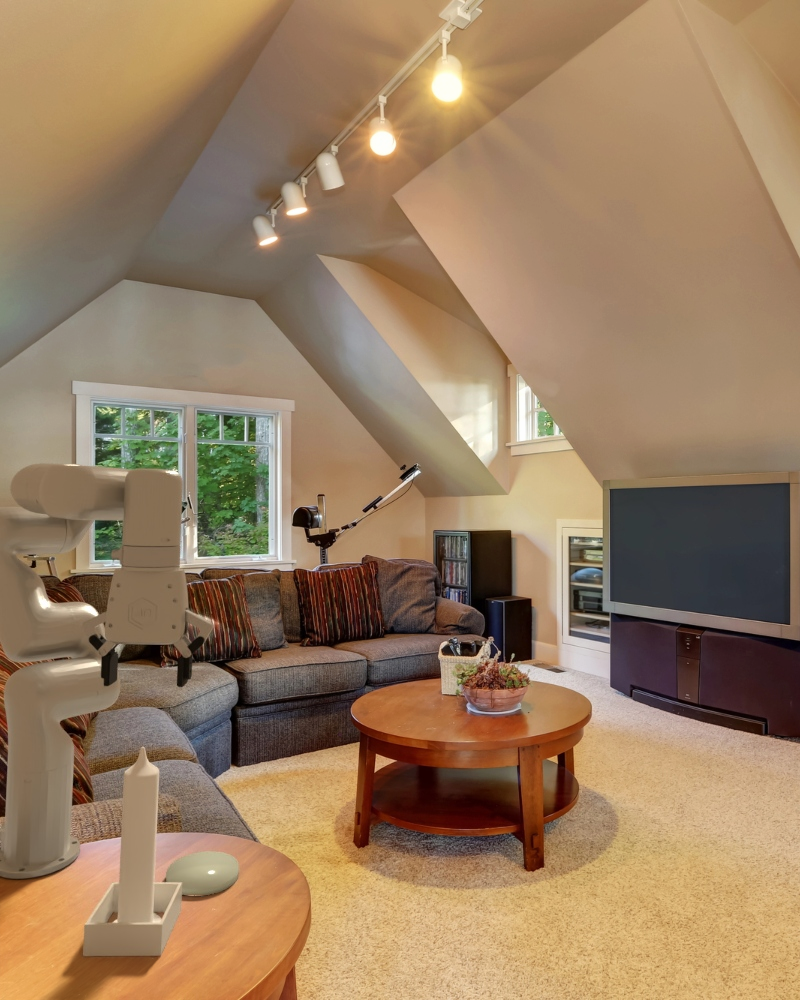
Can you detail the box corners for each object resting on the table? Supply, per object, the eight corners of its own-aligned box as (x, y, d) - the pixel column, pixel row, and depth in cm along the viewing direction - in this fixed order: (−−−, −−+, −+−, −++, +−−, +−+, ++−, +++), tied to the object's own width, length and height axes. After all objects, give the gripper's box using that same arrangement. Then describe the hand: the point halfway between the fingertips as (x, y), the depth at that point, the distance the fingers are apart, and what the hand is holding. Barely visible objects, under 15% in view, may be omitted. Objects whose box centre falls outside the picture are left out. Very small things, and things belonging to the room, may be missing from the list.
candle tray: (82, 956, 85) (84, 924, 86) (111, 910, 95) (112, 882, 95) (160, 955, 86) (162, 924, 86) (181, 910, 96) (182, 882, 96)
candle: (143, 953, 86) (151, 758, 87) (94, 944, 88) (103, 753, 88) (172, 920, 93) (180, 741, 94) (127, 913, 95) (134, 736, 95)
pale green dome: (149, 885, 102) (150, 877, 102) (198, 852, 112) (198, 845, 112) (207, 904, 98) (208, 896, 98) (252, 868, 108) (253, 861, 108)
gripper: (75, 559, 87) (69, 690, 87) (209, 562, 88) (204, 692, 88) (97, 555, 95) (92, 676, 94) (220, 558, 96) (216, 678, 95)
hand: (146, 684), depth 91 cm, fingers open, 9 cm apart
